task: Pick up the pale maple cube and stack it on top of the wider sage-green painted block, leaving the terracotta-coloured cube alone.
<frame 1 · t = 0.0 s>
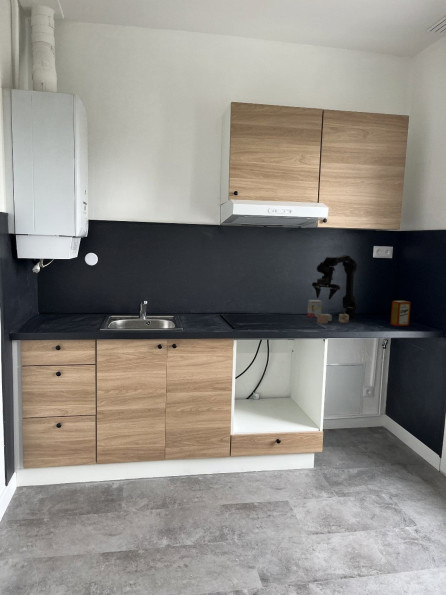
hand: (323, 298, 298), 15 cm above the worktop, tool pointing down, fingers open, 9 cm apart
sage block: (324, 320, 308), on the worktop
baking soda box: (399, 325, 297), on the worktop
terracotta cube: (322, 322, 297), on the worktop
maple cube: (343, 322, 303), on the worktop
ink box: (314, 317, 321), on the worktop
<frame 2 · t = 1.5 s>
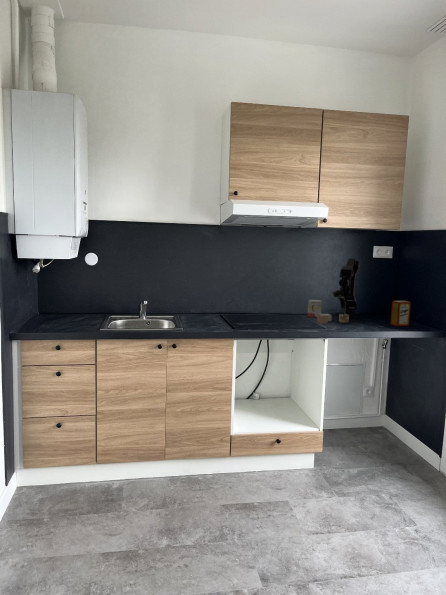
hand: (344, 309, 302), 8 cm above the worktop, tool pointing down, fingers open, 9 cm apart
nothing on the worktop moved.
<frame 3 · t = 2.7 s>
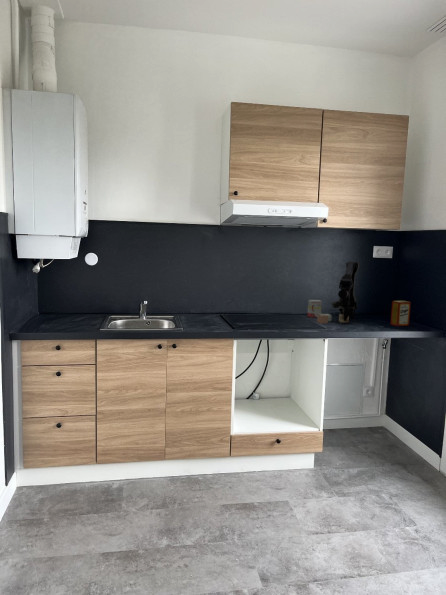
hand: (343, 320, 303), 1 cm above the worktop, tool pointing down, fingers closed on maple cube, 5 cm apart
maple cube: (343, 321, 303), on the worktop, touching gripper
everything else where it was.
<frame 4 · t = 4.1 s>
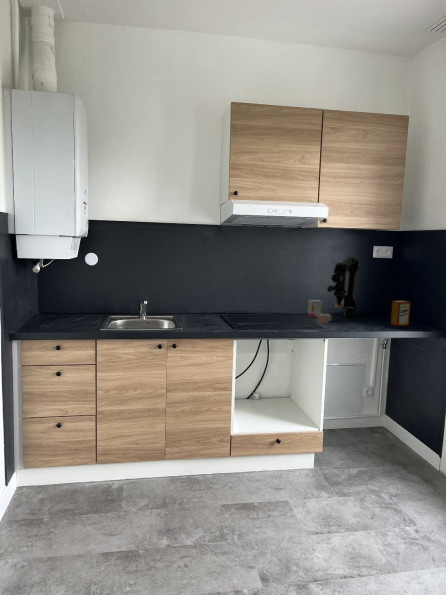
hand: (339, 305, 303), 11 cm above the worktop, tool pointing down, fingers closed on maple cube, 5 cm apart
maple cube: (339, 306, 303), point 10 cm above the worktop, touching gripper
everything else where it was.
when the fingers open (7 cm above the worktop, at t = 5.7 s): maple cube drops 2 cm, resting on sage block.
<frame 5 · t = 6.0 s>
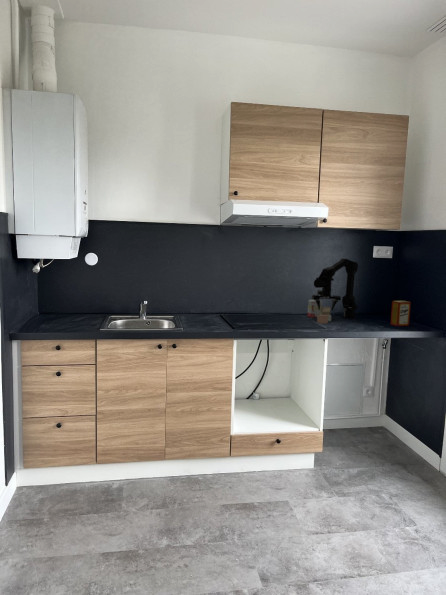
hand: (325, 310, 307), 7 cm above the worktop, tool pointing down, fingers open, 9 cm apart
sage block: (324, 320, 308), on the worktop, touching maple cube
maple cube: (325, 314, 308), point 4 cm above the worktop, touching sage block
everything else where it was.
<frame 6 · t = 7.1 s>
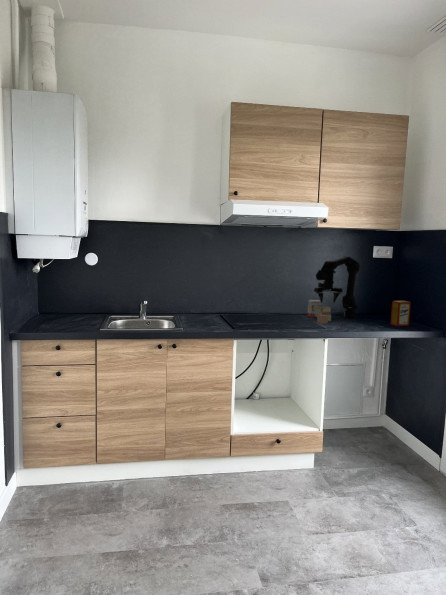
hand: (327, 302, 307), 12 cm above the worktop, tool pointing down, fingers open, 9 cm apart
nothing on the worktop moved.
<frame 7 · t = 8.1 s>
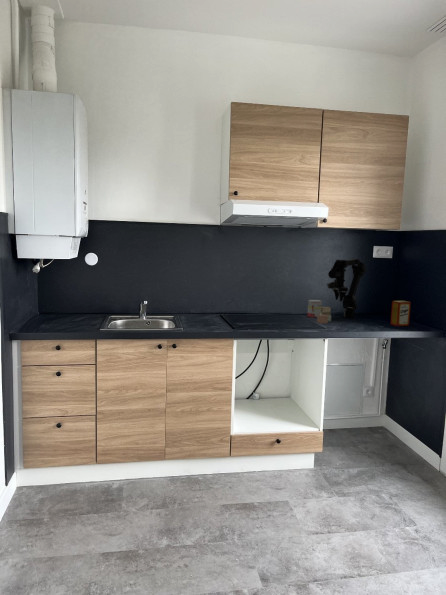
hand: (338, 300, 311), 13 cm above the worktop, tool pointing down, fingers open, 9 cm apart
nothing on the worktop moved.
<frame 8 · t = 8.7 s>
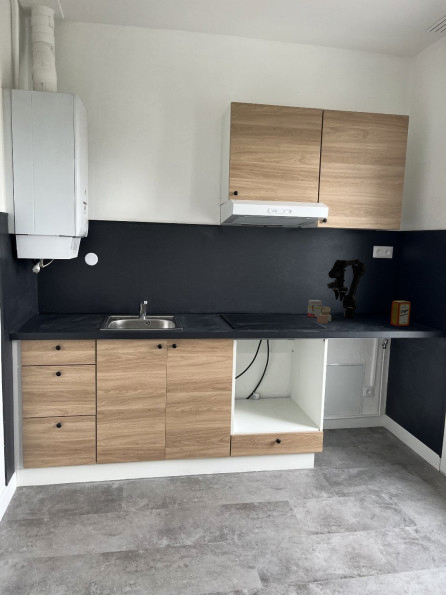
hand: (338, 300, 311), 13 cm above the worktop, tool pointing down, fingers open, 9 cm apart
sage block: (324, 320, 308), on the worktop
maple cube: (325, 314, 308), point 4 cm above the worktop
everything else where it was.
at the end: maple cube 0.3 cm off-centre on the sage block, point 4.0 cm above the sage block's base; maple cube tilted 0°; the gripper is holding nothing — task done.
